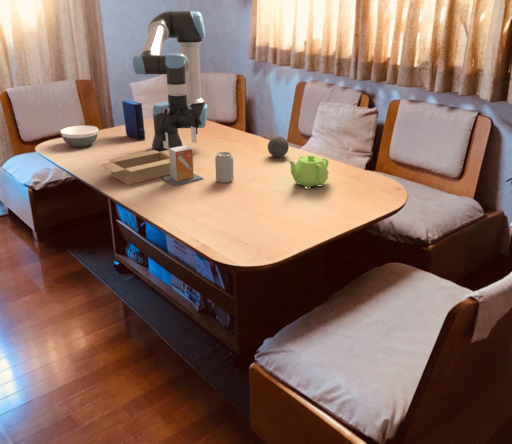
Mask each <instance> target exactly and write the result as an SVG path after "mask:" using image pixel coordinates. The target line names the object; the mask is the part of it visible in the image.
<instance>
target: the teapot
mask: <svg viewBox="0 0 512 444" xmlns="http://www.w3.org/2000/svg"><path fill="white" fill-rule="evenodd" d="M287 162H289V164H290V174H291V176H292V178H293V181H294V182H296V184H297V183H299V184H298V185H300V186H304V188H305V187H307V188H309V187H315V186H317V185H324V184H325V183H326V181H327V180H328V179H329V170H328V166H329V160H328V159H327V158H324V157H322V158H321V157H318V156H315V155H314V154H308V155H307V156H305V155H304V156H303V155H302V156H300V157H299V158H298V160H297V161H296V163H295V162H294V161H293V160H288V159H287Z"/></svg>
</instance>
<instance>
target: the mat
mask: <svg viewBox="0 0 512 444" xmlns="http://www.w3.org/2000/svg"><path fill="white" fill-rule="evenodd" d="M193 176H194V178H191V179H185V180H181V181H176V180H174V179H172V178H171V175H167V176H163V177H160V178H161V180H162V181H164V182H166V183H168V184H169V185H171V186H173V187H177V186H181V185H185V184H190V183H194V182H197V181H201V180H204V177H202V176H200V175H198V174H195V172H193Z"/></svg>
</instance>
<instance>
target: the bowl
mask: <svg viewBox="0 0 512 444" xmlns="http://www.w3.org/2000/svg"><path fill="white" fill-rule="evenodd" d="M98 131H99V128H98V126H95V125H71V126H68V127H65V128H62V129H60V131H59V132H60V135H61V137H62V140H63V141H64V142H65V143H66V144H67V145H70V146H71V147H73V148H77V149H78V148H79V149H81V148H87V147H90V146H91V145H92V144H93V143H95V141H96V140H97V138H98Z"/></svg>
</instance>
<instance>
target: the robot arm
mask: <svg viewBox="0 0 512 444" xmlns="http://www.w3.org/2000/svg"><path fill="white" fill-rule="evenodd" d="M204 22H205V21H204V18H203V15H202V13H201V12H199V11H195V10H194V11H193V10H181V11H177V10H175V11H172V10H170V11H169V10H167V11H164V12H161V13H159V14H157V15H156V16H155V17H154V18H153V19H152V20H151V21H150V22H149V24H148V27H147V37H146V40H145V44H144V46H143V49H142V51H141V54H137V55H134V56H133V58H132V67H133V71H134V73H135V74H137V75H144V76H145V75H166V88H167V101H160V102H157V103H155V104H153V106H152V117H153V128H154V130H153V131H154V135H153V140H152V143H151V148H152V150H156V151H158V152H161V151H166V150H169V148H175V147H180V146H183V142H182V140H181V137H180V135H179V129H190V136H191V142H192V143H194V144H195V143H196V144H197V135H198V129H203V128H205V127H206V124H207V118H208V110H209V109H208V106H209V105H208V104H207V103H205V99H204V98H202V91H201V90H202V87H201V66H200V65H201V64H200V62H201V61H200V60H201V59H200V58H201V57H200V45H201V44H202V43H203V39H206V29H205V23H204ZM167 39H176V42H177V44H178V45H179V46H180V52H170V53H167V54H164V55H163V54H162V52H163V48H164V44H165V42H166V40H167Z"/></svg>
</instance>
